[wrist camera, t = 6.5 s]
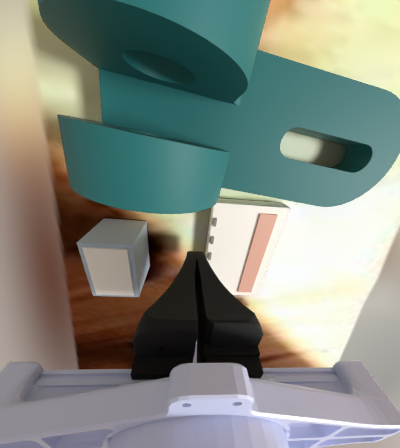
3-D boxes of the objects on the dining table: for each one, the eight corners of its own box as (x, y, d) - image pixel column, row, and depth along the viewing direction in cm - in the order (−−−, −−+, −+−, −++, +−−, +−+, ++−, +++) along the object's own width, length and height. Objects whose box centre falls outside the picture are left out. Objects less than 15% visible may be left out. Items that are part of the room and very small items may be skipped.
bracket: (120, 160, 12) (13, 191, 5) (116, 30, 9) (-186, -400, 2) (334, 203, 14) (474, 265, 7) (391, 111, 11) (733, 63, 4)
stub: (149, 265, 16) (138, 298, 13) (113, 264, 16) (92, 297, 12) (146, 221, 14) (132, 246, 10) (104, 218, 13) (75, 243, 10)
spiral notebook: (253, 286, 18) (258, 296, 17) (200, 284, 18) (201, 295, 16) (282, 202, 14) (291, 209, 12) (212, 197, 13) (214, 203, 12)
